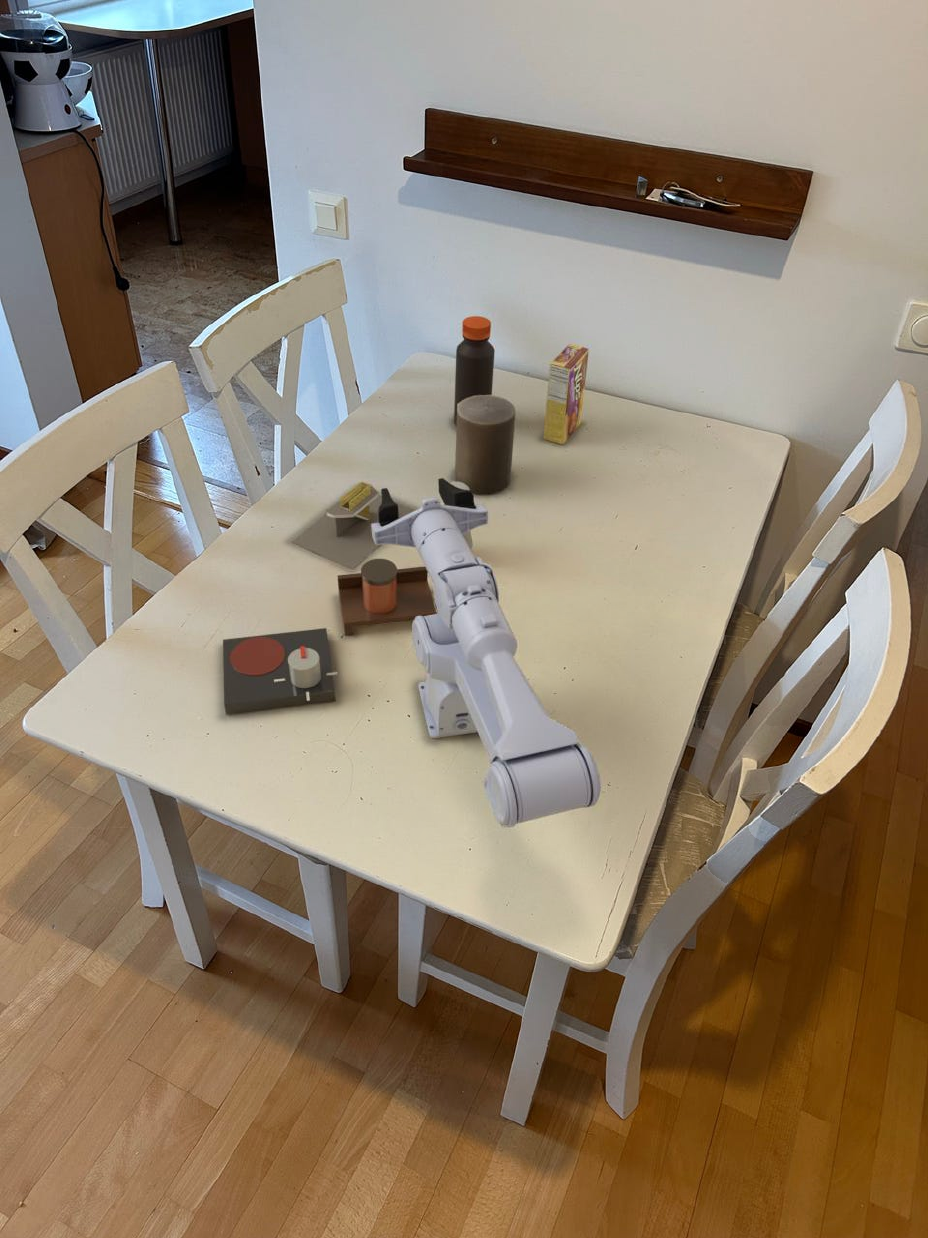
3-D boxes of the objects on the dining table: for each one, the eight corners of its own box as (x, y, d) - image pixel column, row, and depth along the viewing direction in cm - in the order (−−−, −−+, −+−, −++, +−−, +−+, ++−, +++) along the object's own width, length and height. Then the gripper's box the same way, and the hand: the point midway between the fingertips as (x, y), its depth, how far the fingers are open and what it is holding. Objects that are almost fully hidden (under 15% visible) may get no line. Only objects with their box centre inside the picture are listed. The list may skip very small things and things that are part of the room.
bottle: (496, 421, 172) (503, 320, 158) (477, 437, 168) (483, 334, 154) (466, 410, 175) (470, 309, 161) (446, 425, 170) (449, 323, 157)
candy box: (560, 417, 174) (569, 342, 164) (581, 423, 173) (591, 348, 162) (541, 439, 168) (549, 362, 158) (562, 445, 167) (572, 368, 156)
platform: (418, 511, 151) (418, 477, 146) (352, 569, 139) (350, 535, 135) (359, 487, 155) (357, 454, 150) (291, 541, 143) (287, 507, 139)
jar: (400, 612, 129) (399, 579, 125) (364, 615, 128) (363, 583, 124) (394, 588, 132) (394, 556, 128) (360, 592, 132) (358, 560, 127)
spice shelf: (436, 625, 131) (436, 602, 128) (345, 636, 128) (343, 612, 125) (426, 589, 136) (426, 566, 133) (339, 598, 134) (337, 575, 131)
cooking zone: (286, 672, 120) (286, 671, 120) (230, 678, 119) (230, 678, 119) (283, 634, 125) (283, 634, 125) (229, 640, 124) (229, 640, 124)
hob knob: (322, 686, 119) (320, 666, 116) (291, 690, 118) (288, 670, 115) (319, 664, 121) (317, 644, 119) (289, 668, 121) (286, 647, 118)
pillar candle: (506, 498, 154) (513, 420, 144) (449, 491, 155) (452, 413, 145) (513, 466, 161) (520, 390, 151) (458, 460, 162) (461, 383, 152)
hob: (341, 707, 119) (340, 695, 117) (226, 721, 116) (224, 710, 115) (331, 637, 128) (330, 626, 127) (224, 649, 126) (222, 638, 124)
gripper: (500, 509, 109) (465, 453, 119) (381, 531, 105) (355, 472, 115) (499, 557, 113) (465, 499, 123) (385, 579, 110) (360, 519, 120)
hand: (412, 489), depth 120 cm, fingers open, 7 cm apart
